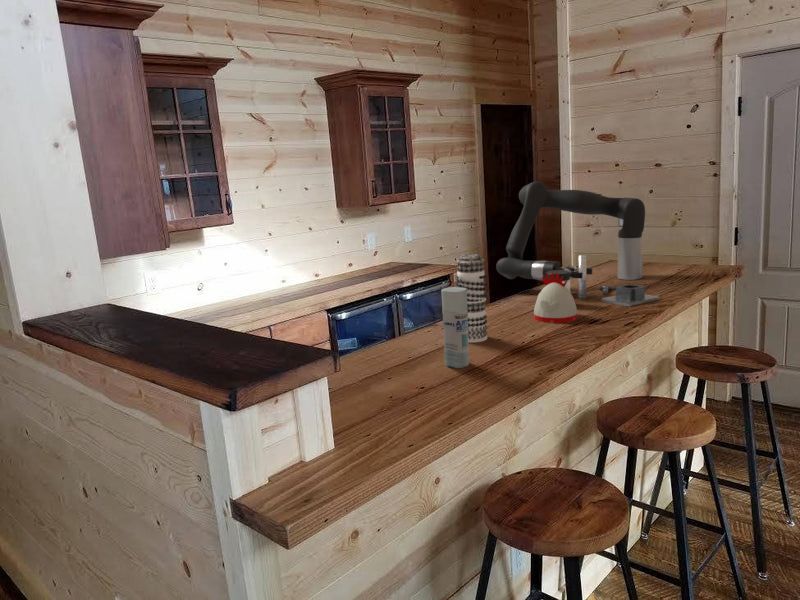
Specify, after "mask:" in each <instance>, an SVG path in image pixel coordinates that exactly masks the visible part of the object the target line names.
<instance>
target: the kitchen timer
mask: <svg viewBox="0 0 800 600" xmlns="http://www.w3.org/2000/svg"><path fill="white" fill-rule="evenodd" d="M542 279H543V280H542V282H543V283H544V285H545V286H544V287H543V288H542V289H541V290H540V292H539V293H538V294H537V297H536V298H537V299H536V301H535V305H534V310H533V319H534V320H535V321H537V322H541V323H547V322H548V323H551V324H560V323H562V324H563V323H569V322H574V321H576V320H578V310H577V305H576V301H575V300H574V296H573V294H572V293H571V290H570V291H569V290H568V289H567V288H566V287H565V285H566V283H567V280H566V281H565V283H564V284H563V283H562V279H563V276H562V277H561V278H560V280H559V275H558V273H557V274H556V278H554V273H552V275H551V279H550V278H549V275H548V273H546V279H545V278H544V277H542Z"/></svg>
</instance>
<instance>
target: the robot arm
mask: <svg viewBox="0 0 800 600" xmlns="http://www.w3.org/2000/svg"><path fill="white" fill-rule="evenodd" d="M518 198H519V201H520V203H521V204H522V205H523V208H522V210H521V213H520V215H519V218H518V220H517V221H516V223H515V225H514V227H513V228H512V230H511V232H510V235H509V238H508V240H507V243H506V246H505V251H506V253H507V257H502V258H500V259H499V260H498V261H497V262H496V264H495V265H496V266H495V269H496V271H497V272H498V274H500V275H501V276H503V277H505V278H507V279H509V280H513V279H516V278H517V277H521V278H522V279H528V280H537V281H543V279H542V277H544V278H545V279H546V272H548V271H553V270H565V271H569V272H570V280H572V279H578V278H582V277H583V273H582V272H578V265H564V266H562V264H561V263H560V262H559V261H554V260H553V261H552V260H523V259H524V258H523V255H524V251H525V248H526V245H527V242H528V241H529V240H528V239H529V237H530V234H531V231H532V229H533V227H534V224H535V222H536V221H535V220H537V217H538V214H539V212H540V211H541V209H542V208H547V209H554V210H559V211H564V212H568V213H574V214H580V215H589V216H590V215H592V216H594V215H603V216H609V217H613V218H617V219H619V220H620V219H621V220H622V227H621V228H620V229H619V230H618V232H617V233H618V234H617V279H619V280H623V281H624V280H627V281H629V280H632V281H634V280H640V279H642V278H643V267H644V266H643V265H644V255H643V254H642V251H643V249H642V247H643V245H642V244H643V232H644V230H645V222H646V220H645V219H646V207H645V204H644V202H643V201H642V199H639V198H635V197H611V196H609V197H608V196H605V195H603V194H599V193H597V192H596V193H595V192H591V191H586V190H581V189H559V190H558V189H557V190H556V189H555V190H554V189H553V190H552V189H548V188H547V186H546V185H545V184H544V183H543V182H541V181H533V182H530V183H528V184H525V185H524V186H522V188H521V189H520V190H519V193H518ZM586 275H593V268H590V267H589V268H588V267H586Z"/></svg>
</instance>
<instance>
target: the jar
mask: <svg viewBox="0 0 800 600" xmlns="http://www.w3.org/2000/svg"><path fill="white" fill-rule="evenodd" d="M546 273H548V275H549V278H550V279H551V275H552V273H554V278H556V274H557V273H558V275H559V280H560V278H561V277H562V276H563V279H562V283H563V284H564V283H565V281H566V280H567V283H566V285H565V287H566V288H567V289H568V290H569V291H570V292H571V279H570V272H569V271H565V270H553V271H548V272H546Z"/></svg>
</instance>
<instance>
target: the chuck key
mask: <svg viewBox="0 0 800 600" xmlns="http://www.w3.org/2000/svg"><path fill="white" fill-rule="evenodd" d="M616 287H617V285H599V290H602V291H601V292H602V294H603V295H607V294H608V293H609V291H610V290H613V291H616Z"/></svg>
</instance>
